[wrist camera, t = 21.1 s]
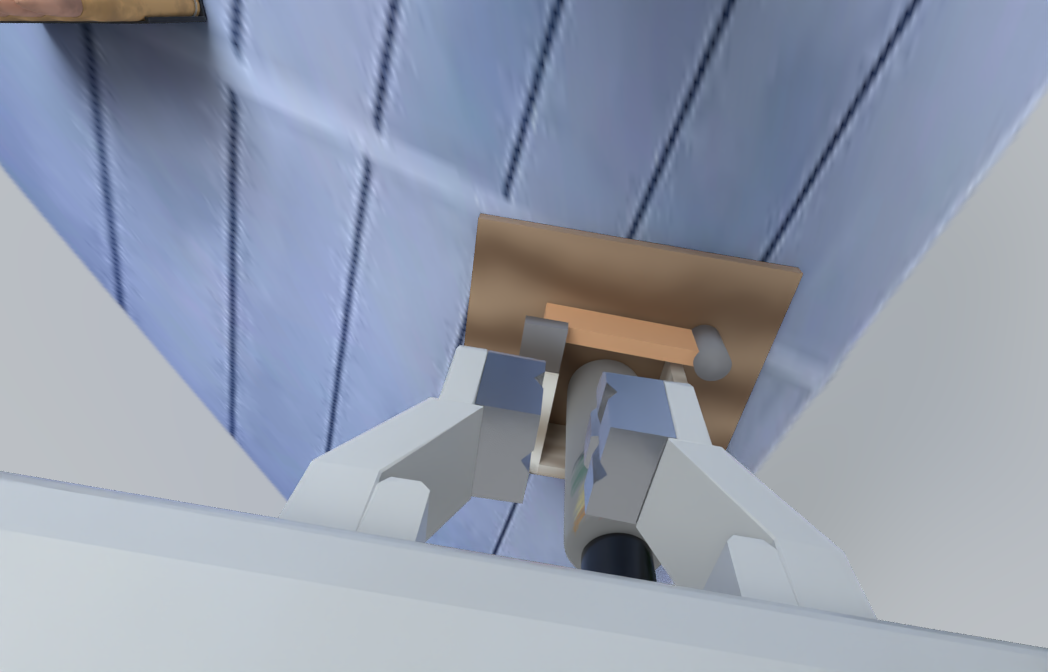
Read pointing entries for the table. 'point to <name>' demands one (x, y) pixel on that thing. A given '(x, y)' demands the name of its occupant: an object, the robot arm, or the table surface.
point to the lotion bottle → (584, 535)
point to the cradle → (620, 313)
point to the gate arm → (646, 339)
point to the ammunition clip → (102, 11)
